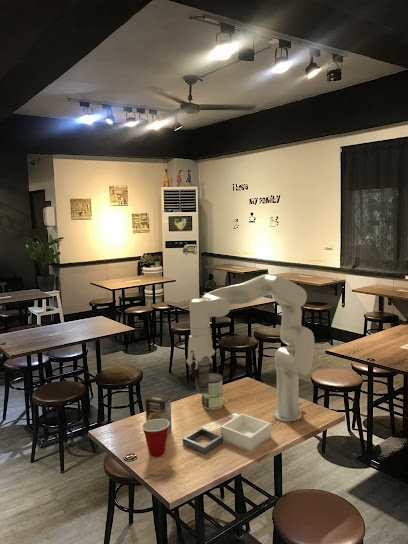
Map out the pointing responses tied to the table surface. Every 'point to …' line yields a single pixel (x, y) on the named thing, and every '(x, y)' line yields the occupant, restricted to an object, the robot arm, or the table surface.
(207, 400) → the coffee can
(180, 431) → the table surface
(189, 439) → the holder
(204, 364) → the beverage cup
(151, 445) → the plastic cup
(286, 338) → the robot arm
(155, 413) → the coffee box
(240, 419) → the bin
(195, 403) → the table surface
